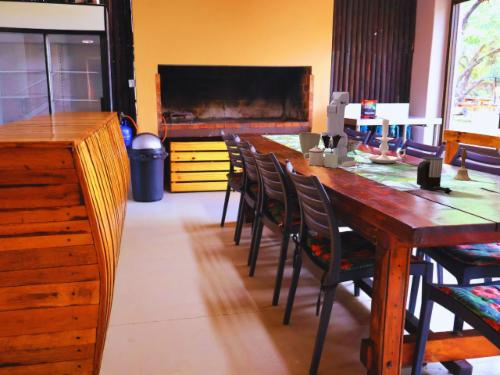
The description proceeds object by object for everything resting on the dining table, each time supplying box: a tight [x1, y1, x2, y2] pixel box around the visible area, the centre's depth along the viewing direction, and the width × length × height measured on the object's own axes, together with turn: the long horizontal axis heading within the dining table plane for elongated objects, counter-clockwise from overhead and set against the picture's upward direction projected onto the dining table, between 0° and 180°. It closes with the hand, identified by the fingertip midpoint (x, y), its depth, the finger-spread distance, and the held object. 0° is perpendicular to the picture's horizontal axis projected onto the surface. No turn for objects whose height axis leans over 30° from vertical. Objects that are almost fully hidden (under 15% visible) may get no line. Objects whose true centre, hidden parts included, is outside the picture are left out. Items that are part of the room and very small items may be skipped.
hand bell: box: [452, 148, 472, 182], centre depth 236 cm, size 8×8×16 cm
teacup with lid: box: [303, 146, 325, 167], centre depth 281 cm, size 12×9×12 cm
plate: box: [324, 152, 338, 169], centre depth 273 cm, size 2×8×8 cm, turn 44°
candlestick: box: [366, 118, 407, 164], centre depth 289 cm, size 21×25×28 cm
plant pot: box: [298, 132, 322, 159], centre depth 313 cm, size 15×15×16 cm
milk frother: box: [416, 156, 453, 194], centre depth 209 cm, size 14×16×15 cm
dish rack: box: [337, 155, 358, 168], centre depth 282 cm, size 14×12×4 cm
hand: (330, 148), depth 272 cm, fingers open, 7 cm apart
